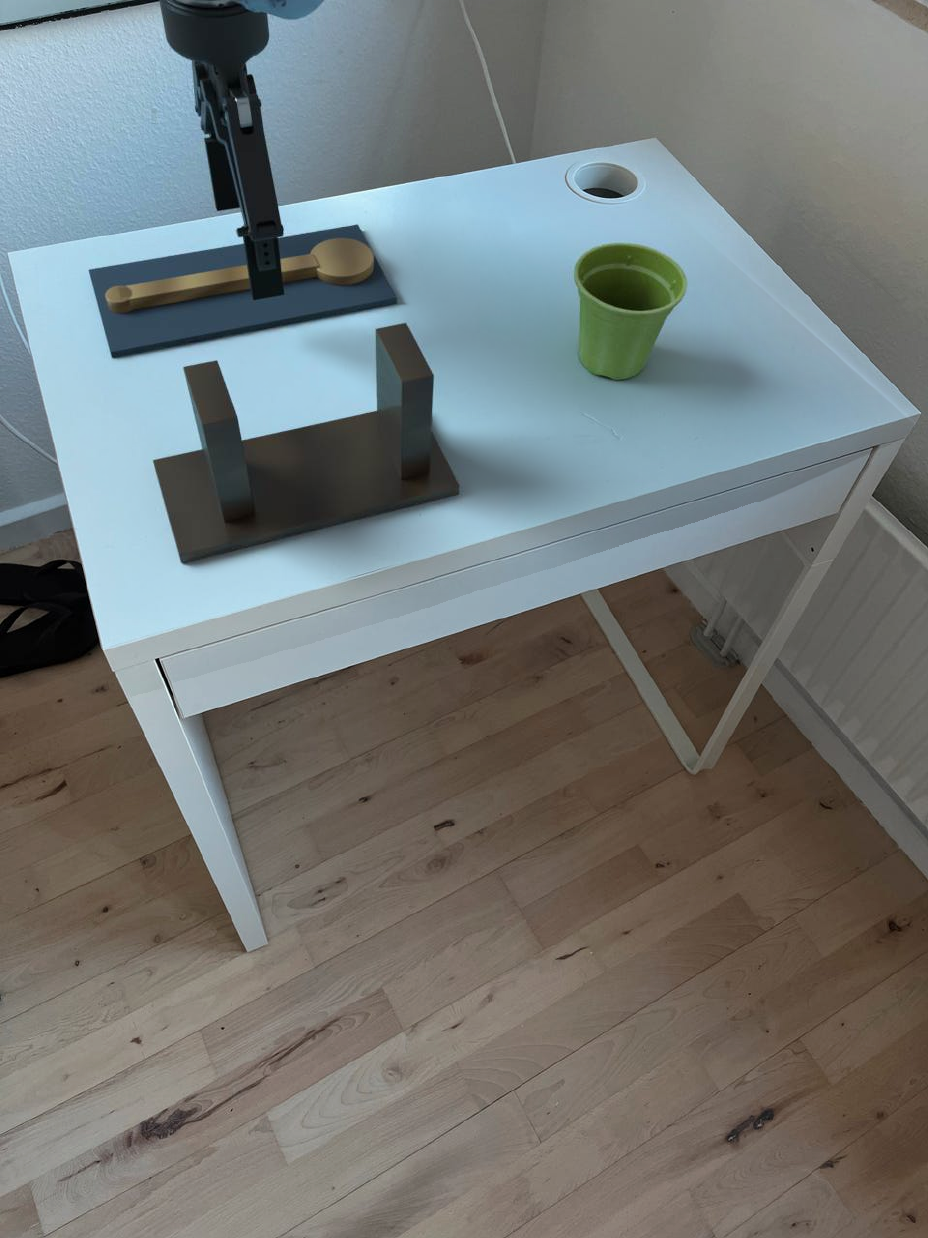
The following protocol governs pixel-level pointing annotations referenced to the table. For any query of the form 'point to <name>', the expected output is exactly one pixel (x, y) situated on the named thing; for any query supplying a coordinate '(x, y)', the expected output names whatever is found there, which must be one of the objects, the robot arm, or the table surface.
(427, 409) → the rack
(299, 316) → the mat
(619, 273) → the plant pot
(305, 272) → the ladle
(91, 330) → the table surface
